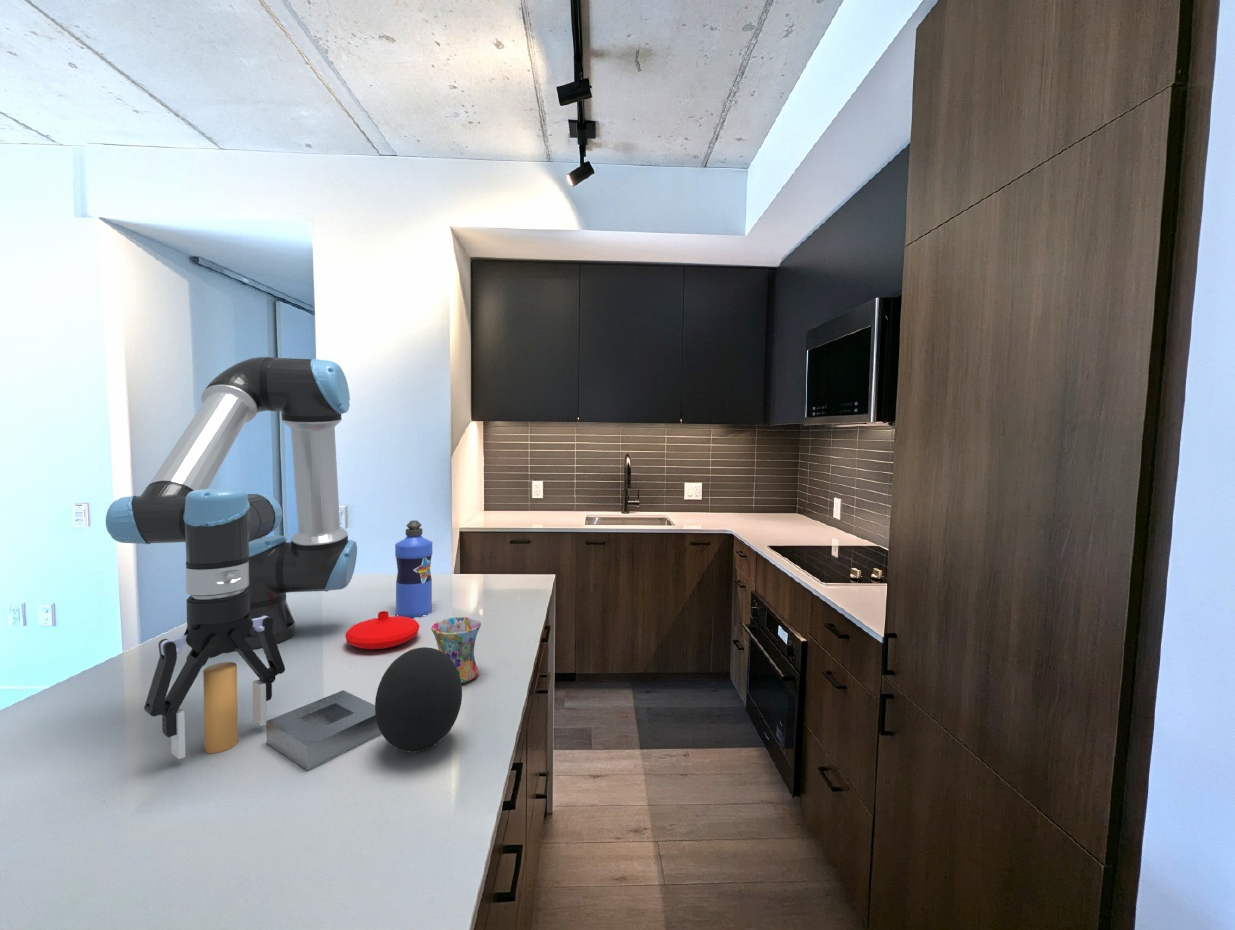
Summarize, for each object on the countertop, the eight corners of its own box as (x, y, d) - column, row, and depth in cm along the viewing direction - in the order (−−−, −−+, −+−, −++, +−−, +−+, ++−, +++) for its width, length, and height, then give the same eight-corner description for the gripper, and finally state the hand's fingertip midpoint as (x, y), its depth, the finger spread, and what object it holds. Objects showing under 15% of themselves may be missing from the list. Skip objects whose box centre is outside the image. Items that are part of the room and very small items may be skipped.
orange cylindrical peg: (200, 747, 78) (198, 669, 78) (230, 735, 82) (229, 659, 81) (211, 756, 76) (209, 675, 76) (242, 743, 80) (241, 666, 79)
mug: (484, 683, 100) (484, 629, 100) (433, 692, 97) (433, 635, 96) (475, 659, 111) (475, 610, 111) (429, 666, 108) (429, 615, 107)
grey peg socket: (266, 743, 80) (266, 720, 80) (343, 709, 90) (343, 690, 90) (307, 770, 73) (307, 746, 73) (385, 731, 83) (385, 710, 83)
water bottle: (439, 609, 144) (439, 519, 143) (416, 620, 135) (416, 524, 134) (412, 605, 147) (412, 517, 146) (387, 615, 138) (387, 522, 137)
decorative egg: (398, 723, 86) (397, 633, 85) (472, 725, 85) (472, 635, 85) (358, 770, 74) (358, 666, 73) (445, 773, 73) (445, 668, 73)
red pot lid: (328, 649, 116) (328, 618, 115) (384, 626, 130) (384, 598, 130) (382, 661, 110) (381, 628, 110) (434, 636, 124) (434, 607, 124)
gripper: (128, 617, 67) (132, 787, 67) (309, 580, 85) (310, 713, 86) (109, 606, 71) (113, 767, 72) (286, 573, 89) (287, 700, 90)
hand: (221, 737), depth 79 cm, fingers open, 10 cm apart
